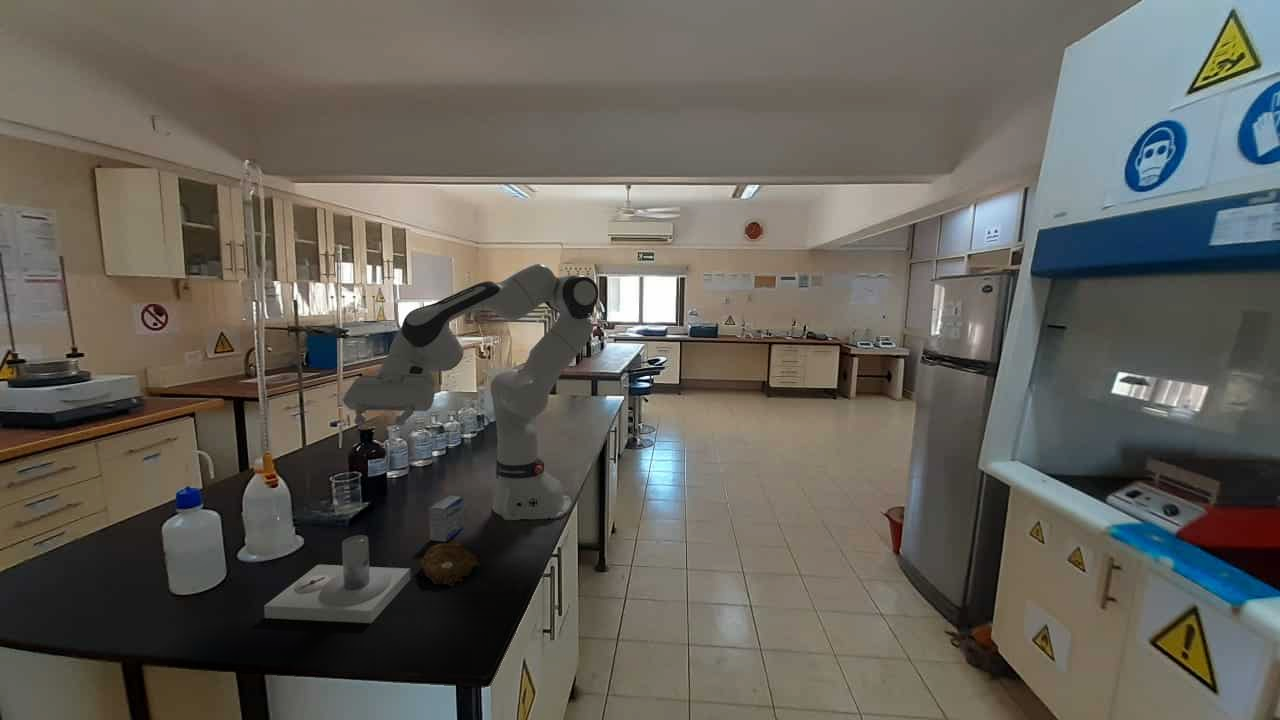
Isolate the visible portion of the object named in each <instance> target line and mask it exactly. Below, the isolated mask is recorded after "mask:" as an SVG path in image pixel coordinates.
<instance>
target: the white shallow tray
mask: <svg viewBox="0 0 1280 720" xmlns="http://www.w3.org/2000/svg"><path fill="white" fill-rule="evenodd" d="M369 573H370V582H369V584H368V585H366V586H365V587H363V588H360V589H357V590H346V589H345V588H344V578H343V565H339V564H337V565H336V564H317V565H316V566H314V567H313V568H311V569H310V570H308V571H307V572H306V573H305V574H304V575H302V576H301V577H300V578H299V579H298V580H296V581H295V582H293V583H292V584H291V585H289V586H288V587H287V588H285V589H284V590H283V591H282V592H280V593H279V594H278V595H276V596H275V597H273V599H271V600H269V601H268V602H267V603H266V604H265V605H263V608H264V610H263V611H264V612H263V613H264V619H278V620H279V619H281V620H301V621H317V622H319V621H320V622H341V623H362V624H372V623H374V621H375V620H376V618H377V617H379V615H380V614H381V613H382V612H383V611H384V609H386V608H387V606H388V605H389V604H390V603H391V602H392V600H394V599H395V598H396V596H398V594H399V593H400V592H401V591H402V590H403V588H405V586H406V585H407V584H408V582H409V581H410V580H411V568H404V567H403V568H402V567H384V566H383V567H380V566H379V567H377V566H369Z"/></svg>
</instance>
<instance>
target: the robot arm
mask: <svg viewBox="0 0 1280 720" xmlns="http://www.w3.org/2000/svg"><path fill="white" fill-rule="evenodd" d="M598 299H599V288H598V285H597V283H596V282H595V281H594V279H592V278H591V277H589V276H587V275H583V274H574V275H573V274H572V275H566V276H560V277H557V275H555V273H554V272H553V271H552V270H551V268H549V267H548V266H546V265H545V264H541V263H536V264H533V265H530V266H528V267H526V268H523V269H522V270H520V271H518V272H515V273H514V274H512V275H511V276H509V277H508V278H506V279H504V280H502V281H499V282H494V281H491V280H487V281H483V282H480V283H477V284H474V285H472V286H469V287H467V288H465V289H463V290H460V291H458V292H456V293H454V294H451V295H449V296H447V297H445V298H443V299H441V300H439V301H437V302H433V303H432V304H428V305H424V306H420V307H417V308H415V309H412V310H411V311H409V312H408V313H407V314H406V315H405V317H404V319H403V322H402V325H401V328H399V330H398V331H397V333H396V335H395V336H394V338H393V340H392V342H391V344H390V346H389V353H388V354H387V356H386V357H385V358H384V359H383V362H382V365H381V366H380V369H379V371H378V373H377V375H362V376H360V377H357V378H355V379H354V381H353V383H352V384H351V386H350V387H349V388H348V389H347V391H346V393H345V394H344V396H343V398H342V402H343V404H344V405H345V407H347V408H348V409H349V410H350V411H354V412H355V416H356V417H355V419H354V421H353V422H354V424H355V425H356V426H364V425H365V422H366V421H367V418H365V417H364V415H363V414H365V413H366V411H381V412H382V411H385V412H387V411H388V412H389V411H391V412H393V411H394V412H395V411H396V412H397V411H398V412H399V411H400V412H402V413H401V415H396V417H395V420H394V425H396V426H397V427H404V426H405V424H406V421H407V420H408V419H409V418H410V417H411V416H413V415H414V413H415V412H427V411H429V410H430V409H431V408H432V406H433V403H434V401H435V400H434V399H435V393H436V391H435V388H436V387H437V385H436V384H437V383H436V380H435V378H434V376H433V374H432V373H431V372H448V371H450V370H452V369H454V368H456V367H457V366H458V365H459V364H460V362H461V361H462V359H463V357H464V351H465V350H464V348H463V347H462V345H461V343H460V342H459V340H458V338H457V337H456V335H455V334H454V332H453V331H452V329H451V327H449V324H450V322H452V321H453V320H454V321H455V319H457V318H459V317H461V316H463V315H466V314H468V313H470V312H472V311H474V310H476V309H481V308H484V309H487V310H490V311H491V312H492V313H494V315H496V316H498V317H500V318H501V319H504V320H507V321H517V320H520V319H522V318H524V317H525V316H527V315H528V314H530V313H531V312H533V311H534V310H536V308H538V307H539V306H541V305H543V304H545V305H546V306H547V307H548V308H550V310H552V311H554V312H557V313H559V315H558V318H557V320H556V322H555V324H553V325H552V327H551V328H549V330H547V332H546V333H545V334H544V335H543V336H542V337H541V338H540V340H539V341H537V343H536V344H535V345H534V346H533V347H532V348H531V349H530V350H529V354H528V357H527V359H526V361H525V363H524V364H523V366H522V367H521V369H520V370H519V371H504V372H501V373H499V374H497V375H496V376H495V377H494V378H493V380H491V384H490V388H489V389H490V390H489V391H490V394H491V397H492V404H493V413H494V414H493V415H494V419H495V424H496V425H495V426H496V433H497V459H496V462H495V463H496V465H495V476H496V490H495V496H494V501H493V503H492V505H491V506H492V507H491V509H492V511H493V512H494V513H495V514H497V515H499V516H501V517H502V518H503V520H505V521H523V520H522V519H524V520H525V519H528V520H549V519H548V518H550V519H560V518H562V517H564V516H565V515H566V514H567V513H569V511H570V510H571V507H572V499H571V498H570V496H569V495H565V494H564V488H563V485H562V483H561V482H560V480H558V479H556V478H555V477H554V476H553V475H551V474H549V473H548V472H547V471H545V463H546V462H545V460H546V459H543V460H542V459H540V458H539V457H538V430H537V427H536V424H535V420H534V417H537V416H539V415H541V413H543V412H544V411H545V409H546V408H547V405H548V401H549V395H550V394H551V392H552V390H553V388H554V386H555V384H556V382H557V381H558V379H559V378H560V377H561V375H562V373H563V372H564V371H565V370H566V369H567V367H568V366H569V365H570V364H571V363H572V361H574V359H575V358H577V356H578V355H579V354H580V352H581V351H582V349H583V348H584V347H585V346H586V344H587V342H588V341H589V339H591V336H592V334H593V331H594V326H593V323H592V321H591V320H590V318H589V317H591V316H592V315H593V313H594V309H595V307H596V305H597V302H598ZM565 513H566V514H565ZM564 514H565V515H564ZM563 515H564V516H563ZM561 516H562V517H561ZM559 517H560V518H559ZM520 519H521V520H520Z"/></svg>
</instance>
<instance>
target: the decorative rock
mask: <svg viewBox="0 0 1280 720" xmlns="http://www.w3.org/2000/svg"><path fill="white" fill-rule="evenodd" d="M418 563H419V564H420V567H422V571H423V573H424V575H425V576H426V578H428V579H430V580H431V581H432V584H433V585H437V584H438V585H446V584H447V585H448V586H449V587H452V586H455V584H456V582H460V583H462V581H463V577H464V578H466V577H468V576H471V575H472V573H471V571H473V569H474V568H475V567H476V568H479V567H480V563H479V561H478V558H477V557H476V555H475V554H473V553H471V551H469V550H467V549H466V548H465V547H462V545H461V543H460V542H458V541H457V540H456V541H451V542H450V541H449V542H447V543H446V542H441V543H436V544H435V545H432V546H431V547H430V548H429V549H428V550H427V551H426V553H425V555H424V556H423V558H421V559H419V561H418Z"/></svg>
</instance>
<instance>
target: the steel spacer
mask: <svg viewBox="0 0 1280 720" xmlns="http://www.w3.org/2000/svg"><path fill="white" fill-rule="evenodd" d="M341 551H342V554H341V555H342V566H343V578H344V588H345V589H346V590H357V589H360V588H363V587H365V586H366V585H368V584H369V582H370V573H369V567H370V554H369V552H370V551H369V537H368V535H365V534H364V535H363V534H358V535H353V536H350V537H347V538H345V539H344V540H342V542H341Z"/></svg>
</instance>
